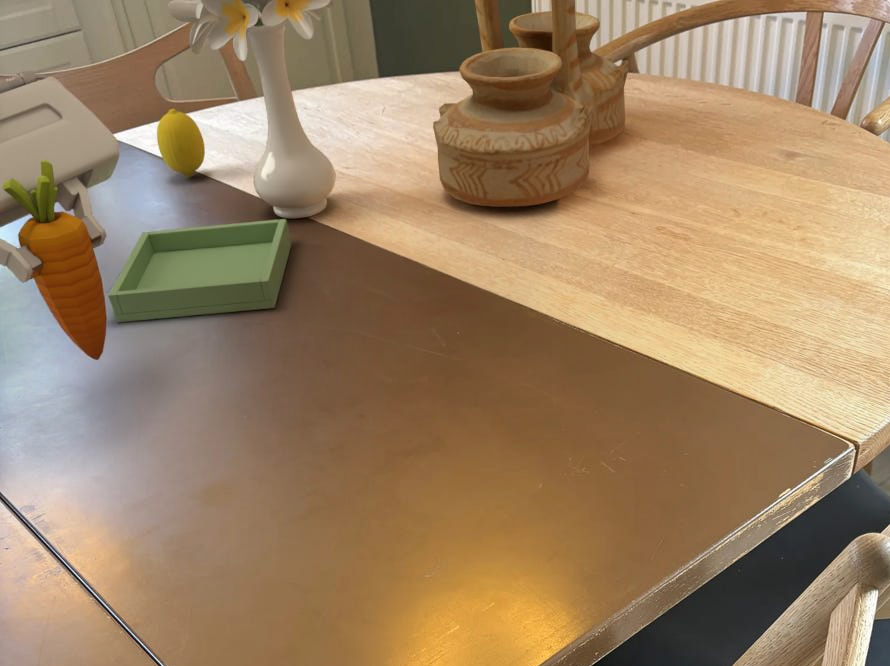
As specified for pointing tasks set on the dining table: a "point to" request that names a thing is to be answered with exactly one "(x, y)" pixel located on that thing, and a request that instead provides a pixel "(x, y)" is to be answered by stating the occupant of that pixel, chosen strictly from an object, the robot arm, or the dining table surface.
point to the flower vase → (269, 93)
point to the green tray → (202, 271)
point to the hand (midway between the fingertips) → (66, 259)
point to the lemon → (180, 142)
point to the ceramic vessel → (529, 109)
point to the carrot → (64, 264)
